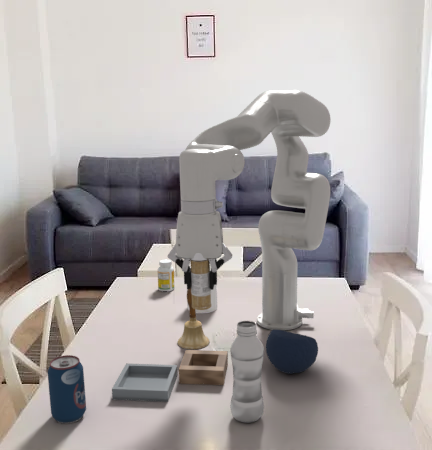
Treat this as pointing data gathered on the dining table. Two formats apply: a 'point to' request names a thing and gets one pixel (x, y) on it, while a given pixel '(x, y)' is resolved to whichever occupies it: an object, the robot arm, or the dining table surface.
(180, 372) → the holder block
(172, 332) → the dining table surface
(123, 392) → the tray
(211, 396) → the dining table surface
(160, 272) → the supplement bottle
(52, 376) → the soda can
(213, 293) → the white upright carton
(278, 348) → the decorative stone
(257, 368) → the plastic bottle
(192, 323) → the hand bell
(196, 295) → the sprinkles bottle
